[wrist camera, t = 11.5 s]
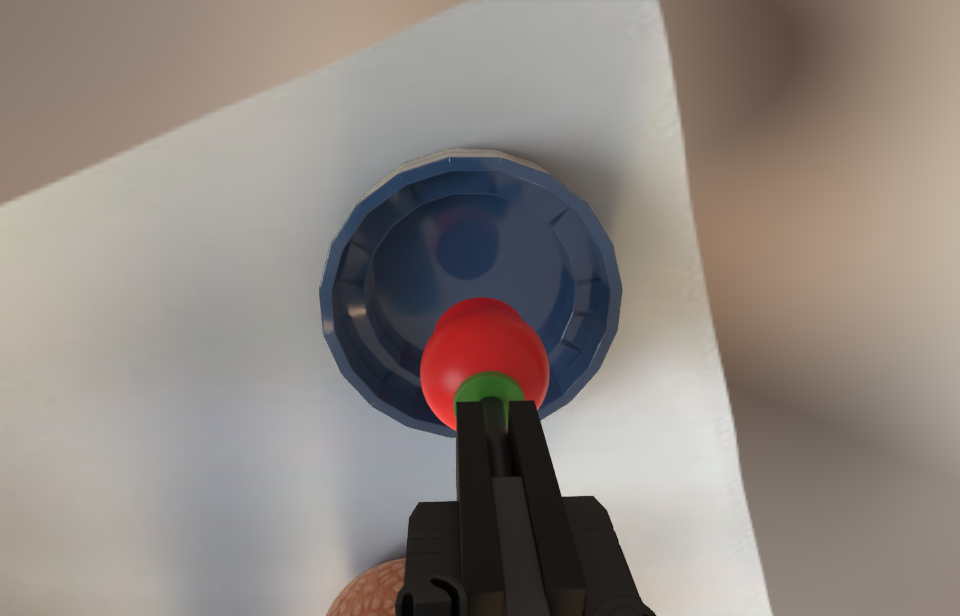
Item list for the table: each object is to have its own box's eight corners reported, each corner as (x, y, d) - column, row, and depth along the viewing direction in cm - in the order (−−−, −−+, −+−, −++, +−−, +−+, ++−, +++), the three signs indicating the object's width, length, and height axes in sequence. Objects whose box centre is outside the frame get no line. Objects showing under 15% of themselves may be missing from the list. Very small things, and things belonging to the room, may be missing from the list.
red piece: (423, 392, 24) (394, 828, 10) (421, 287, 22) (380, 638, 8) (534, 390, 24) (658, 811, 10) (540, 287, 22) (702, 624, 8)
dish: (345, 399, 32) (333, 440, 28) (324, 145, 27) (305, 155, 23) (587, 395, 33) (605, 434, 29) (612, 148, 28) (638, 158, 24)
